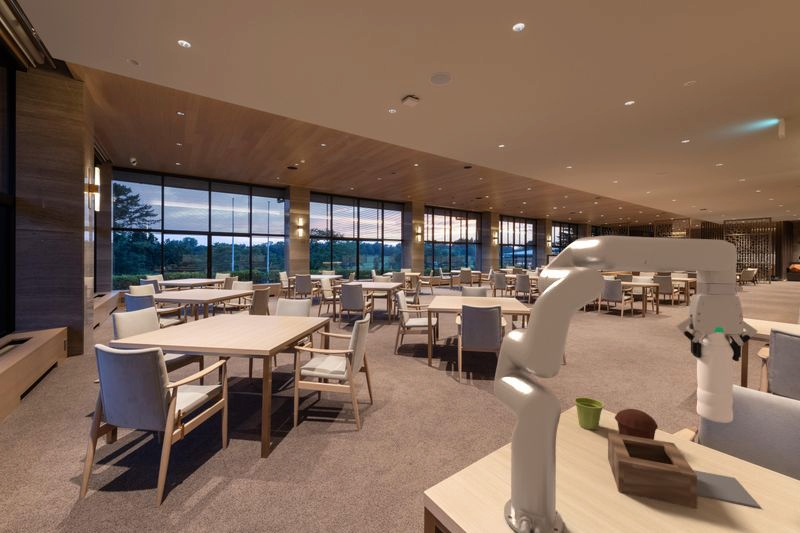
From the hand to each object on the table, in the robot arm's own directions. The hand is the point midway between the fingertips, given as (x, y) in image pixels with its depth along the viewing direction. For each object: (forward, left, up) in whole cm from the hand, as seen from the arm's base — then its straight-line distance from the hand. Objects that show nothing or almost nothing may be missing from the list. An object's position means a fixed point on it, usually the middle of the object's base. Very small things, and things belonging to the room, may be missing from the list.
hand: (715, 357), depth 90 cm
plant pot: (+25, +26, -34) cm, 50 cm away
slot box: (-4, +15, -34) cm, 37 cm away
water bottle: (0, 0, -16) cm, 16 cm away
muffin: (+19, +13, -34) cm, 41 cm away
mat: (0, -1, -34) cm, 34 cm away
